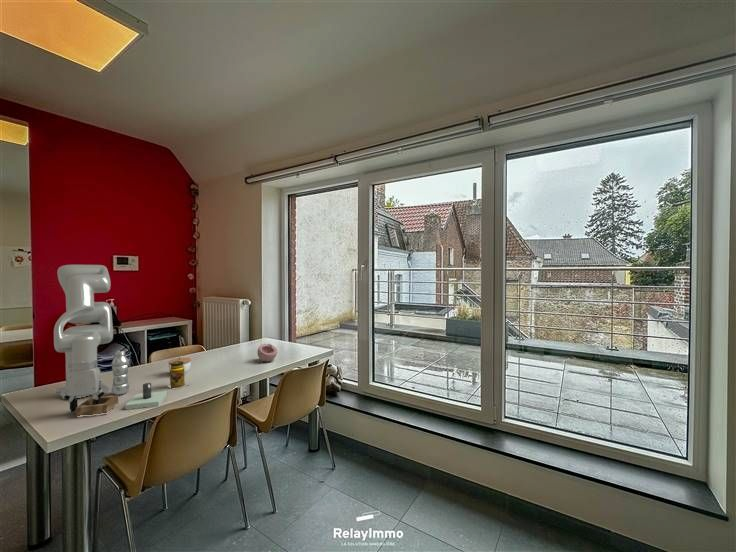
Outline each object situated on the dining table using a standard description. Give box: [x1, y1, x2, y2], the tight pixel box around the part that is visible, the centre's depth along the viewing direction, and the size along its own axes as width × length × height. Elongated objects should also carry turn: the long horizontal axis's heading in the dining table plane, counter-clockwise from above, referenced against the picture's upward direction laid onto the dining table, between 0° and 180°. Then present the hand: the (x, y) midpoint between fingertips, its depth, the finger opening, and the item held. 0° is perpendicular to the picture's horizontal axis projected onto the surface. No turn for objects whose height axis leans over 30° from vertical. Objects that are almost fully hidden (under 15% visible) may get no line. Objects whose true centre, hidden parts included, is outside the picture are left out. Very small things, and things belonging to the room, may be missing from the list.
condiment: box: [166, 361, 189, 391], centre depth 157 cm, size 7×8×12 cm
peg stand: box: [124, 382, 168, 410], centre depth 137 cm, size 12×12×8 cm
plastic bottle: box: [111, 349, 130, 396], centre depth 146 cm, size 6×7×20 cm
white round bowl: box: [168, 356, 192, 376], centre depth 174 cm, size 11×11×9 cm
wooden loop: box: [75, 394, 119, 417], centre depth 129 cm, size 10×10×4 cm
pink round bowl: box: [257, 343, 278, 363], centre depth 199 cm, size 12×12×12 cm
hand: (85, 409), depth 128 cm, fingers open, 6 cm apart
